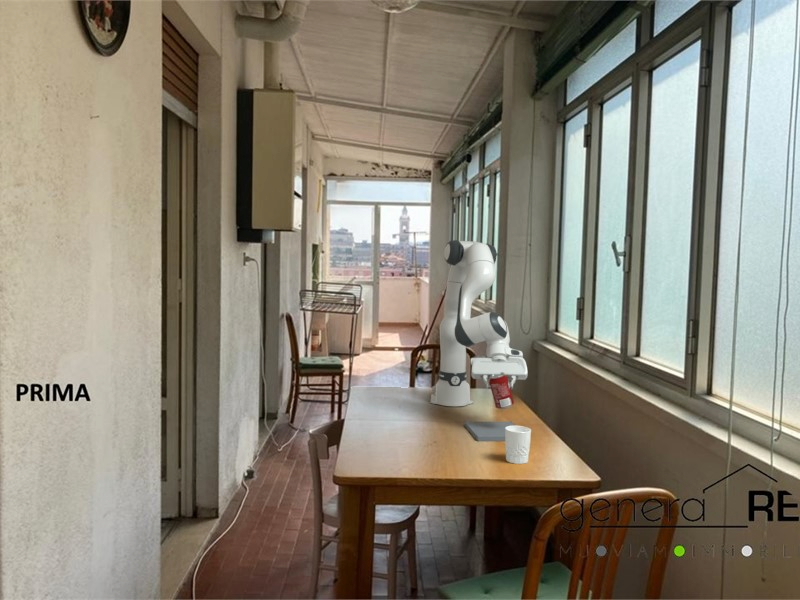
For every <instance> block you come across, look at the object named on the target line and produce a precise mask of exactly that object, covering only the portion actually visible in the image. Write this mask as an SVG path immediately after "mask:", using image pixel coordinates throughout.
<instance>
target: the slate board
mask: <svg viewBox="0 0 800 600" xmlns="http://www.w3.org/2000/svg"><path fill="white" fill-rule="evenodd" d="M507 426H517V425H516V424H515V423H513V421H464V427H465V428H466V429H467V431H470V432H469V433H470V434H471V435H472V436H473V437H474V438H475V440H476V441H477V442H505V428H506V427H507Z"/></svg>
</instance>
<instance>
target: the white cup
mask: <svg viewBox="0 0 800 600" xmlns="http://www.w3.org/2000/svg"><path fill="white" fill-rule="evenodd" d="M531 435H532V429H531V428H529V427H527V426H522V425H516V426H507V427H506V428H505V441H504V444H505V448H504V449H505V460H506V461H507V462H508V463H510V464H515V465H516V464H517V465H522V464H527V463H528V462H529V454H530V448H531V437H532V436H531Z"/></svg>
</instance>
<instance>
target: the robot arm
mask: <svg viewBox="0 0 800 600" xmlns="http://www.w3.org/2000/svg"><path fill="white" fill-rule="evenodd" d="M443 253H444V254H443V255H444V260H445V262H446V264H449V265H450V267H449V271H448V275H447V283H446V290H445V296H444V297H445V298H444V301H445V302H444V317H443V318H442V320H441V321H440V324H439V345H440V348H439V349H440V362H439V363H440V365H439V371H438V379H437V382H436V384H435V385H433V386H431V387H432V389H431V391H432V392H433V393H431V394H430V402H429V403H430V404H436V405H439V406H444V407H463V406H468V405H471V404H473V403H474V400H472V399H471V396H470V395H471V394H470V391H471V389H470V384H469V383H468V382H467V371H466V368H467V366H466V365H467V348H469V347H472V346H474V345H476V344H479V343H482V342H486V344H487V346H486V355H480V356H479V355H475V356H473V357H471V358H470V365H471V375H470V376H471V378H472V379H474V380H483V382H484V384H485V385H486V389H491V386H490V383H489V380H490V376H491V375H498V374H501V373H500V372H503V373H505V375H506V376H507V377H508V380H510V381H511V382H510V381H509V386H510V389H511V390H513V389H514V384H515V383H516V380H517V381H518V380H523V381H526V379H528V366H527V362H526V360H525V358H524V354H523V351H522V350H519V349H514V348H511V347H510V342H511V339H510V337H511V336H510V330H509V327H508V323H507V322H506V320H505V319H504V318H503V316H502V315H501V314H499V313H497V312H494V311H490V312H489V311H488V312H486V313H483V314H480V315H477V316H474V317H471V312H472V304H473V302H474V301H475V300H476V298H478V297H479V296H480V295H481V294H483V293H485V292H486V291H487V290H489V288H491V287H492V285H494V283H495V280H496V267H495V265H496V262H497V258H498V257H497V249H496V247H495V246H494V245H492V244H490V243H485V242H484V243H483V242H479V241H473V240H470V241H469V240H457V239H453V240H449V241H448V242H447V243H446V245H445V248H444V252H443Z"/></svg>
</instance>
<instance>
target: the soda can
mask: <svg viewBox="0 0 800 600" xmlns="http://www.w3.org/2000/svg"><path fill="white" fill-rule="evenodd" d="M500 373H501V374H498V375H491V376H490V379H489V380H488V382H489V383H490V386H491V388H490V390H491V394H492V398H493V403H494V406H495V408H496V409H499V410H506V409H510V408H511V407H512V406H513V405H515V400H514V397H513V393H512V389H510V386H509V382H510V381H509V379H508V377H507V376H506V375H505V373H503V372H500Z"/></svg>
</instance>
